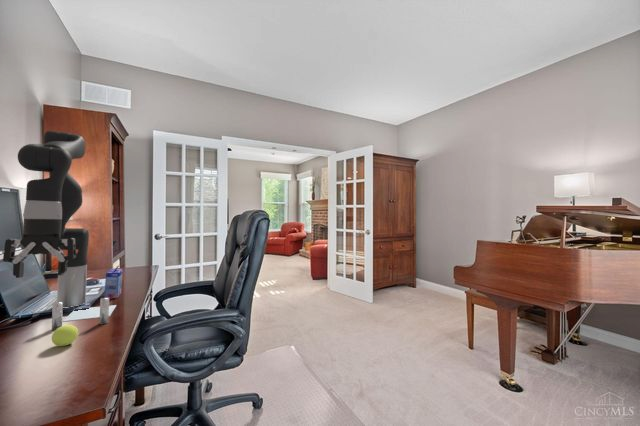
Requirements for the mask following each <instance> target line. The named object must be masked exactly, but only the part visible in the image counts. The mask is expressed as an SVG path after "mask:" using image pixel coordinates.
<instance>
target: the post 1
mask: <svg viewBox="0 0 640 426" xmlns="http://www.w3.org/2000/svg"><path fill="white" fill-rule="evenodd" d="M51 307H52V308H51V309H52V314H51V331H55V330H56V329H58V328H59V327H61V326H63V310H64V309H63V302H57V301H56V302H55V301H54V302H53V303H52V306H51Z"/></svg>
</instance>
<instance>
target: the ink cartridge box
mask: <svg viewBox="0 0 640 426" xmlns="http://www.w3.org/2000/svg"><path fill="white" fill-rule="evenodd" d="M119 267H120V265H118V266H116V268H115V269H114V268H113V269H109V270H108V271H107V272H106V273H105V281H104V295H103V298H107V297H108V298H109V299H117V298H118V299H119V296H120V295H121V294H122V285H123V284H122V283H123V270H124V269H122V268H119Z"/></svg>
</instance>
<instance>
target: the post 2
mask: <svg viewBox="0 0 640 426" xmlns="http://www.w3.org/2000/svg"><path fill="white" fill-rule="evenodd" d="M99 301H100V303H99V307H100V317H99V323H98V324H99V325H107V324H108V323H109V319H110V318H109V317H110V316H109V306H110V298H108V297H107V298H104V297H101V298H100V300H99Z"/></svg>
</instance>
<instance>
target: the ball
mask: <svg viewBox="0 0 640 426" xmlns="http://www.w3.org/2000/svg"><path fill="white" fill-rule="evenodd" d="M78 336H79V330H78V328H77V327H76V326H75V325H72V324H65V325H64V324H63V325H62V326H61V327H59V328H58V329H56V330H53V333H52V335H51V342H52V344H54V345H55V346H58V347H65V346H69V345H71V344H72V343H73V342H75V341H76V339H77V338H78Z"/></svg>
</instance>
